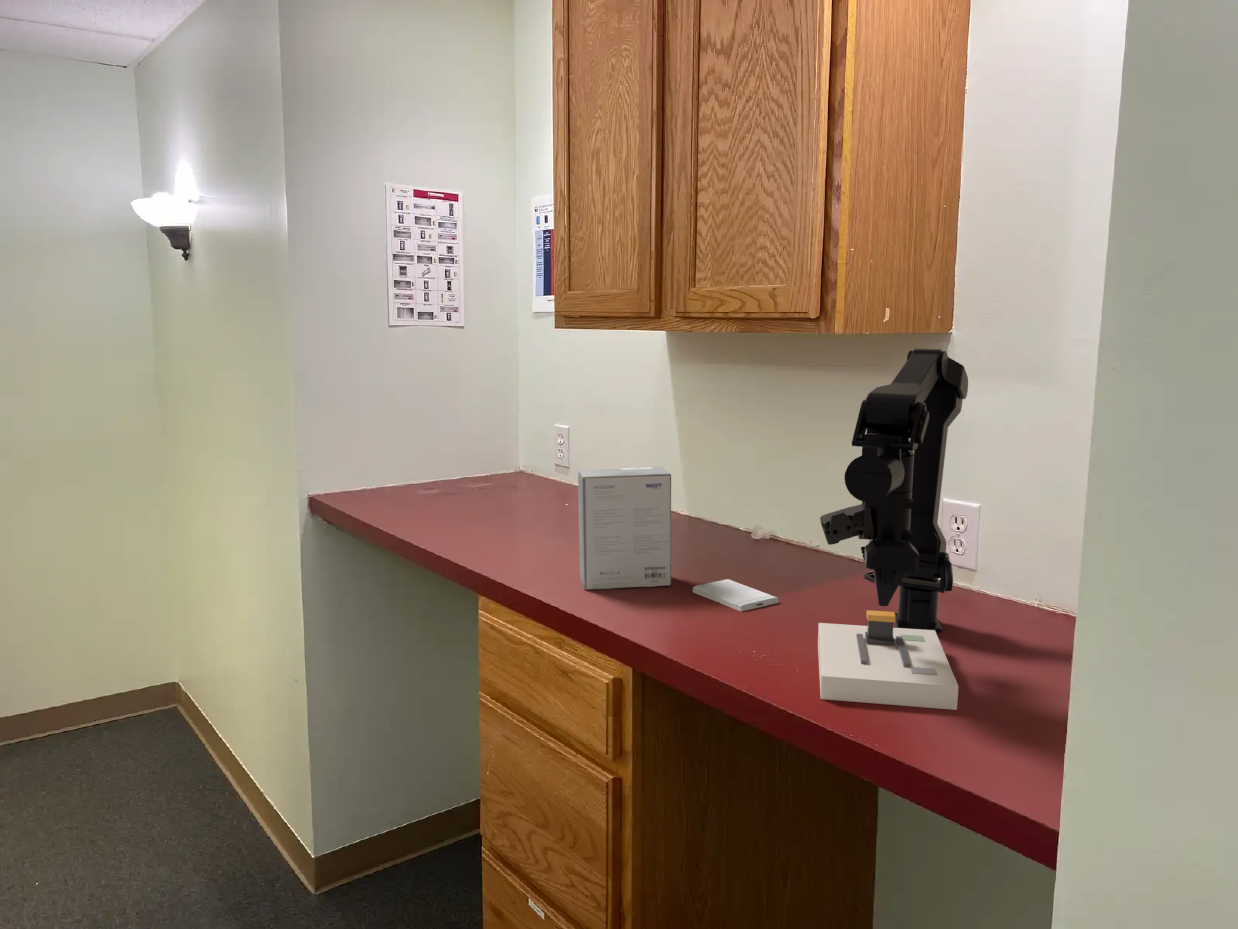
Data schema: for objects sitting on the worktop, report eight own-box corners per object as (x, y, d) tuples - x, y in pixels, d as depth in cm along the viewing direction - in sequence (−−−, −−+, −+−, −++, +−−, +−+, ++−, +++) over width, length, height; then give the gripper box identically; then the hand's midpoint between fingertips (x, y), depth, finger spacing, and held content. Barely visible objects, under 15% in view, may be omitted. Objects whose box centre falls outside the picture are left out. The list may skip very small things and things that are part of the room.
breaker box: (817, 642, 133) (818, 619, 132) (933, 650, 130) (935, 627, 129) (820, 699, 113) (821, 672, 113) (956, 710, 110) (958, 682, 110)
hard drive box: (663, 574, 167) (664, 466, 164) (671, 587, 160) (673, 473, 156) (578, 578, 165) (577, 468, 162) (583, 590, 157) (582, 476, 154)
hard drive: (692, 586, 157) (740, 604, 146) (729, 578, 161) (778, 595, 151) (692, 595, 157) (740, 614, 147) (729, 587, 161) (778, 605, 151)
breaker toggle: (865, 635, 127) (866, 608, 126) (892, 637, 126) (893, 610, 126) (866, 643, 124) (868, 616, 123) (894, 645, 123) (895, 618, 123)
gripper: (823, 474, 130) (819, 582, 132) (827, 500, 111) (822, 624, 114) (905, 477, 127) (899, 586, 130) (923, 504, 109) (915, 630, 112)
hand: (883, 605), depth 121 cm, fingers closed
